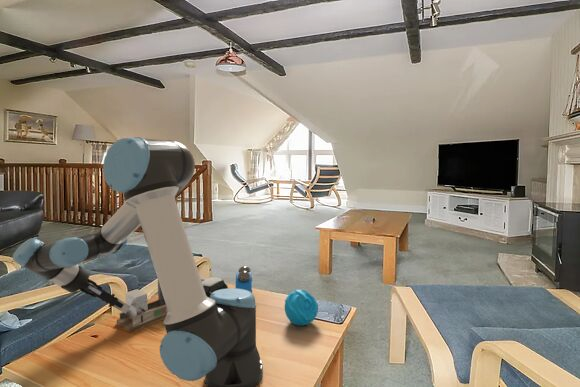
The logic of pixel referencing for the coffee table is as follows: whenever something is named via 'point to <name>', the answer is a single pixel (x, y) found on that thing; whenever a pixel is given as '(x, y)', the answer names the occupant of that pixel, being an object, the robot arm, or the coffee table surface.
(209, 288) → the miniature car
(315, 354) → the coffee table surface
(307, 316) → the blue round piece
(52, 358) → the coffee table surface
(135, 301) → the carriage
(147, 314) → the frame
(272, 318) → the coffee table surface
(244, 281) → the alarm clock
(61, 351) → the coffee table surface
